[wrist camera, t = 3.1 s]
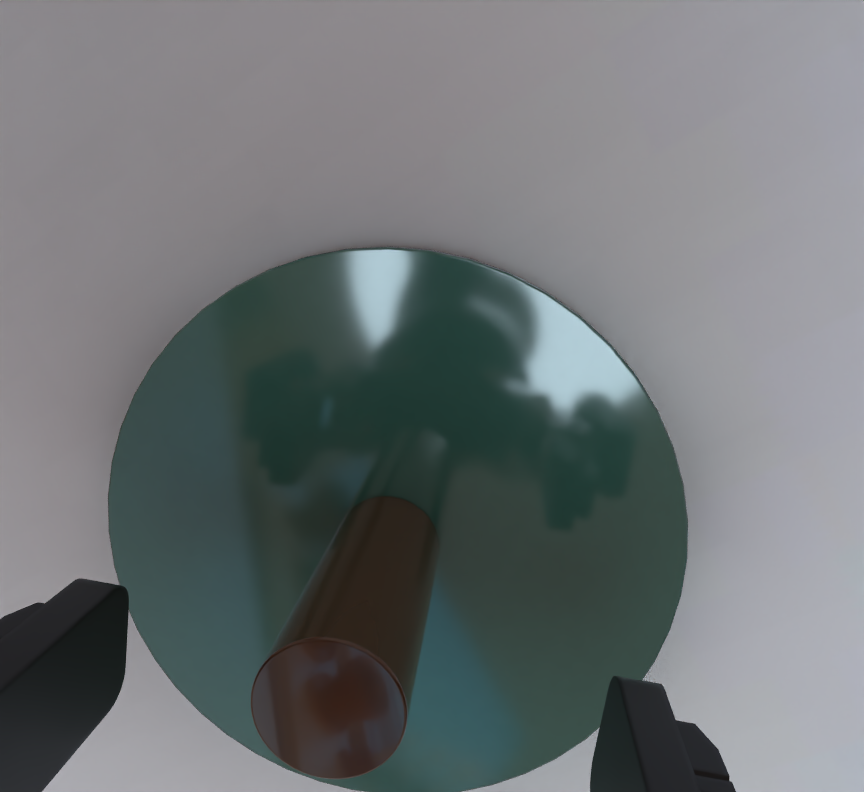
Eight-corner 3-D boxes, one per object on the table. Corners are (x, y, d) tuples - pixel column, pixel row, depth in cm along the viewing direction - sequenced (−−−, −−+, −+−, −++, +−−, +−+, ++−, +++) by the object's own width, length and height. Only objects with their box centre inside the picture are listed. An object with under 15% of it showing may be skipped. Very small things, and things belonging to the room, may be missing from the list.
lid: (34, 554, 19) (-235, 739, 12) (338, 118, 16) (213, 29, 9) (439, 854, 20) (407, 1187, 13) (801, 494, 17) (1012, 677, 10)
